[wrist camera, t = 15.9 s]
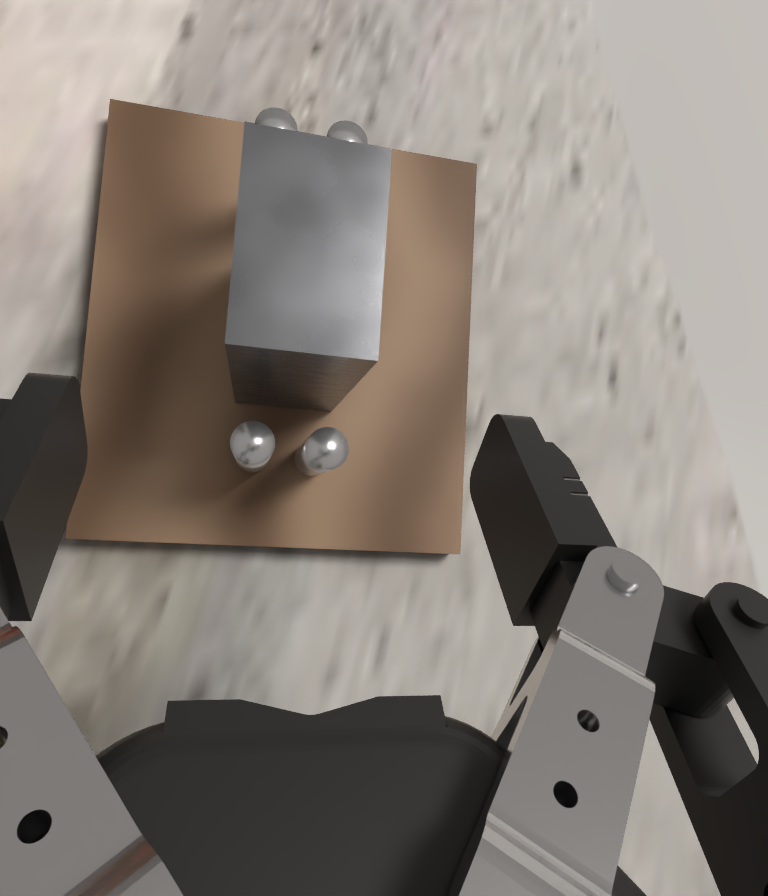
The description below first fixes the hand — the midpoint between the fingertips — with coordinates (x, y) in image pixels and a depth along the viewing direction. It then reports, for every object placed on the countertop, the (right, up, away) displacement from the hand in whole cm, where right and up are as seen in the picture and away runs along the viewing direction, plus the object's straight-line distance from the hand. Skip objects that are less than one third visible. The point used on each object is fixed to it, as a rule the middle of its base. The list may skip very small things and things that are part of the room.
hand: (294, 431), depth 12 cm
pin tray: (-2, +4, +15) cm, 16 cm away
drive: (-2, +4, +14) cm, 15 cm away
